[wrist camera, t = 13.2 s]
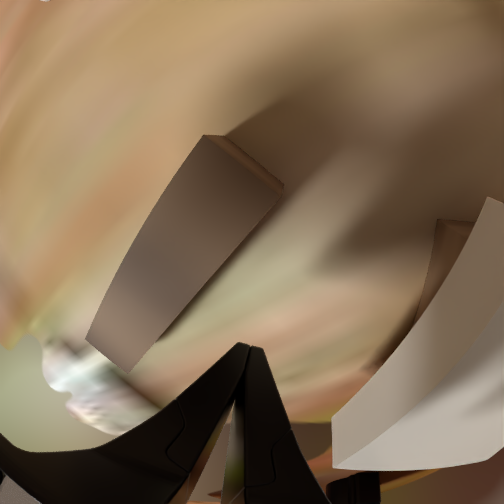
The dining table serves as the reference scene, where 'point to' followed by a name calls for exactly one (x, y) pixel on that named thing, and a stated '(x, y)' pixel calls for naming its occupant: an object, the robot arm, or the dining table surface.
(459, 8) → the dining table surface
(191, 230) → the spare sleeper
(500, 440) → the slab
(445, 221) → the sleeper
